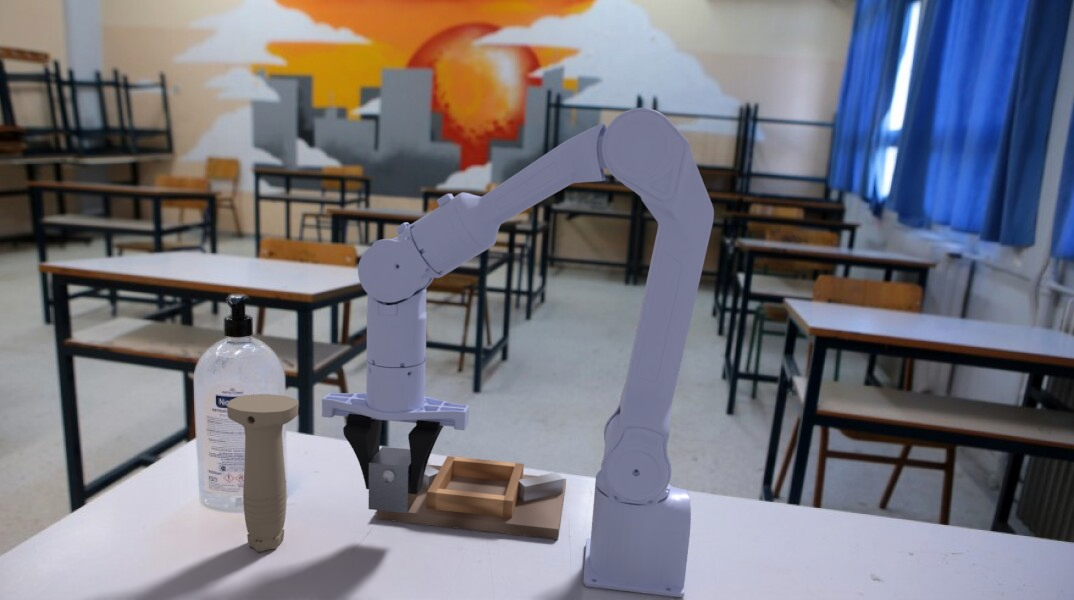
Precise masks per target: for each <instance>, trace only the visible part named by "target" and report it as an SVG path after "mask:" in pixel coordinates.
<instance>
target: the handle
mask: <svg viewBox="0 0 1074 600" xmlns="http://www.w3.org/2000/svg"><path fill="white" fill-rule="evenodd" d="M226 408H227V409H226V410H227V418H228V419H229V420H231V421H233V422H235V423H237V424H238V425H241V426H242V427H243V429H244V436H245V437H244V440H245V441H244V465H243V466H244V467H243V468H244V471H243V490H242V491H243V494H242V497H243V500H242V501H243V514H244V521H245V526H246V531H247V533H248V534H247V535H246V536H247V537H246V538H247V543H248V545H249V547H250V548H254V550H255V551H256V552H259V553H261V552H264V551H268V550H276V549H277V548H278V547H279V544H281V543H282V542H283V541H284V537H285V529H284V526H285V523H286V522H285V521H286V515H287V480H286V470H285V469H286V468H285V458H284V442H283V427H284V425H286V424H288V423H289V422H291V421H292V420H293V419H295V418H296V417H297V416H298V414H299V400H298V399H297V398H294V397H290V396H287V395H281V394H271V393H264V394H263V393H258V394H244V395H240V396H237V397H234V398H233V399H230V401H228V402H227V405H226Z"/></svg>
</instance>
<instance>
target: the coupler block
mask: <svg viewBox="0 0 1074 600" xmlns="http://www.w3.org/2000/svg"><path fill="white" fill-rule="evenodd" d="M410 476H411V454H410V448H402V447H400V448H399V447H391V446H381V448H379V451H378V452H377V454H376V455H375V456H374V457H373V458H372V460H371V461H370V462H369V489H368V510H373V511H377V510H381V511H390V512H399V513H408V511H409V510H410V508H411V506H412V505H413V503H414V501H415V500H416V498H417V496H418V495H419V492H418V494H411V492H410Z"/></svg>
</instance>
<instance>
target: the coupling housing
mask: <svg viewBox="0 0 1074 600" xmlns="http://www.w3.org/2000/svg"><path fill="white" fill-rule="evenodd" d="M524 469H525V468H524V463H519V462H509V461H501V460H500V461H498V460H492V459H491V460H489V459H479V458H472V457H471V458H469V457H461V456H450V455H447V456H446V458H445V460H444V462H443V463H442V465H435V464H427V466H426V469H425V473H424V478H423V484H422V487H421V489H420V491H419V495H418V496H417V498H416V500H415V501H414V503H413V505H412V506H411V508H410V510H409V511H408V513H399V512H390V511H381V510H376V515H375V516H376V520H382V521H391V522H399V523H409V524H410V523H411V524H417V525H426V526H427V525H429V526H435V527H442V528H443V527H444V528H453V529H462V530H469V531H470V530H471V531H472V530H473V531H480V532H489V533H499V534H507V535H517V536H524V537H525V536H526V537H532V538H533V537H534V538H540V539H541V538H543V539H551V540H552V539H553V540H559V535H560V528H561V521H562V516H563V508H564V500H565V493H566V485H567V478H563V477H562V476H561V475H560V474H558V472H553V473H546V474H541V475H533V474H532V475H531V474H524Z"/></svg>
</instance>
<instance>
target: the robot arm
mask: <svg viewBox="0 0 1074 600" xmlns="http://www.w3.org/2000/svg"><path fill="white" fill-rule="evenodd" d="M604 169H607V170H608V172H609V173H610V174H611V175H612V176H613V177H614V178H615V179H616V180H618V181H619V182H621V183H622V184H623V185H624V186H625V187H627V188H628V189H630V190H631V191H633V192H635V194H637V195H638V196H639V197H640V200H641V202H642V203H643V204H644V205H645V207H646V208H647V209H648V211H649V212H650V214H651V215H652V217H653V218H654V220H655V221H656V222H657V231H656V235H655V240H654V246H653V250H652V255H651V259H650V264H649V269H648V273H647V278H646V282H645V286H644V287H645V288H644V292H643V297H642V302H641V307H640V312H639V317H638V322H637V325H636V326H637V327H636V330H635V335H634V341H633V345H632V350H631V354H630V359H629V364H628V369H627V373H626V378H625V382H624V385H623V388H622V391H621V395H620V400H619V404H618V405H617V407H616V409H615V411H613V413H612V414H611V415H610V417H608V419H607V420H606V423H605V426H604V430H603V439H604V447H603V448H604V449H603V457H602V460H601V465H600V470H599V471H597V473H596V475H595V484H594V493H593V494H594V495H593V496H594V497H593V509H592V521H591V531H590V537H589V538H586V540H585V551H584V552H585V554H584V555H585V556H584V568H583V582H582V583H583V584H584V585H585V586H586V587H590V588H591V587H592V588H599V589H606V590H607V589H608V590H609V589H610V590H615V591H623V592H624V591H625V592H632V593H633V592H634V593H643V594H651V595H657V596H668V597H676V598H683V597H684V596H685V580H686V573H687V572H686V571H687V562H688V555H689V545H690V544H689V543H690V535H691V524H692V522H691V520H692V519H691V518H692V516H691V515H692V513H691V512H692V509H691V508H692V506H691V495H690V493H689V491H688V490H686V489H683V488H679V487H675V486H672V485H671V484H670V482H671V479H672V470H673V469H672V464H671V461H670V457H669V454H668V445H669V444H668V443H669V438H670V433H671V421H672V410H673V409H672V408H673V399H674V395H675V393H676V387H677V383H678V378H679V375H680V374H679V373H680V369H681V364H682V360H683V356H684V352H685V347H686V342H687V338H688V333H689V329H690V326H691V321H692V320H691V319H692V316H693V312H694V308H695V303H696V299H697V294H698V290H699V286H700V285H699V284H700V281H701V276H702V274H703V273H702V271H703V267H704V264H705V260H706V259H705V258H706V255H707V251H708V245H709V241H710V237H711V232H712V228H713V225H714V223H713V222H714V219H715V218H714V217H715V216H714V215H715V210H714V206H713V203H712V201H711V198H710V196H709V193H708V191H707V188H706V186H705V184H704V181H703V178H702V175H701V174H700V170H699V168H698V166H697V163H696V160H695V158H694V155H693V151H692V147H691V144H690V142H689V140H688V139H687V138H686V137H685V136H684V135H683V134H682V133H681V131H679V130H678V129H677V127H676V126H675V125H674V123H673V122H671V120H669V119H668V118H667V116H665V114H663V113H661V112H659V111H658V110H655V109H651V108H647V107H636V108H631V109H629V110H626V111H623V112H622V113H620V114H619V115H618V116H616V117H615V118H614V119H613V120H612V121H611V122H610V123H609V125H608V126H606V124H605V122H603V123H600V124H598V125H596V126H593V127H591V128H589V129H586V130H584V131H583V132H580V133H579V134H577V135H575V136H572V137H571V138H568V139H567V140H565V141H563V142H562V143H560V144H558V145H557V146H556V147H554V148H553V149H551V150H550V151H548V152H547V153H545V154H544V155H542V156H540V157H539V158H538V159H536V160H535V161H533V162H531V163H530V164H529V165H527V166H526V167H524V168H523V169H521V170H520V171H519V172H517V173H515V174H514V175H512V176H511V177H509V178H508V179H506V180H505V181H504V182H502V183H501V184H499V185H497V186H496V187H494V188H493V189H491V190H490V191H488V192H487V193H486V194H484V195H482V196H480V195H475V194H472V193H469V192H463V191H462V192H460V193H458V194H457V195H455V196H454V195H453V193H446V194H444V195H443V196H441V197H440V198H438V199H437V200H436V202H437V203H436V204H437V205H438V207H436V208H435V209H433V210H431V211H430V212H428V213H427V214H425V215H423V216H422V217H420V218H418V219H417V220H416V221H414V222H413V223H411V224H410V223H409V222H403V223H401V224H400V225H398V226H397V227H396V231H397V237H394V238H383V239H379V240H375V241H373V242H372V245H371V246H370V247H369V248H367V249H366V250H365V251H364V252H363V254H362V256H361V257H360V259H359V263H358V267H357V274H358V280H359V283H360V284H361V287H362V289H363V290H364V291H365V293H366V294H367V300H366V301H367V302H366V303H367V305H366V307H367V313H366V392H354V393H353V392H351V393H349V392H346V393H344V392H341V393H340V392H329V393H328V394H327V395H325V396H324V397H323V398H322V399H321V412H322V413H321V416H322V417H323V418H330V419H331V418H334V417H335V416H336V417H337V416H338V417H345V418H346V417H347V420H346V424H345V425H344V427H342V428H343V429H342V430H343V431H342V432H343V436H344V438H345V439H346V440H347V441H348V443H349V445H350V446H351V449H352V450H353V452H354V454H355V457H356V458H357V461H358V463H359V466H360V470H361V474H362V477H363V480H364V485H365V489H366V490H369V462H370V461H371V460H372V458H373V457H374V456H375V455H376V454H377V452H378V451H379V450H380V445H381V437H382V436H381V435H382V434H381V433H382V425H383V421H389V422H399V423H412V424H416V425H415V426H414V427H413V428H412V429H411V431H409V433H408V435H407V437H408V446H409V449H410V454H411V476H410V492H411V494H418V492H419V491H420V489H421V487H422V484H423V478H424V473H425V469H426V466H427V465H428V462H429V459H430V456H431V453H432V451H433V449H434V447H435V444H436V442H437V439H438V438H439V436H440V434H441V432H442V430H443V428H444V427H452V428H453V429H454V430H457V431H465V430H466V429H467V427H468V424H469V415H470V405H467V404H460V403H454V402H450V401H446V400H443V399H442V400H440V399H437V398H433V397H428V396H426V367H427V366H426V365H427V363H426V361H427V353H426V352H427V325H428V324H427V320H428V318H427V316H428V315H427V288H428V287H429V286H430V285H431V284H432V282H433V280H434V278H435V279H439V278H442V277H444V276H446V275H447V274H449V273H451V272H453V271H454V270H455V269H457V268H459V267H460V266H462V265H463V264H465V263H467V262H469V261H471V260H472V259H474V258H475V257H476V256H479V255H480V254H482V253H483V252H485V251H487V250H489V249H490V248H492V247H494V246H495V244H496V243H497V242H496V241H497V238H498V234H499V229H500V227H501V225H502V224H504V223H505V222H507V221H509V220H510V219H512V218H515V217H516V216H518V215H520V214H521V213H522V212H525V211H527V210H528V209H530V208H531V207H534V206H535V205H537V204H539V203H541V202H542V201H544V200H546V199H548V198H549V197H551V196H553V195H554V194H556V193H558V192H560V191H562V190H563V189H565V188H566V187H568V186H570V185H572V184H579V183H591V182H592V183H594V182H602V181H606V175H605V172H604Z"/></svg>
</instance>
